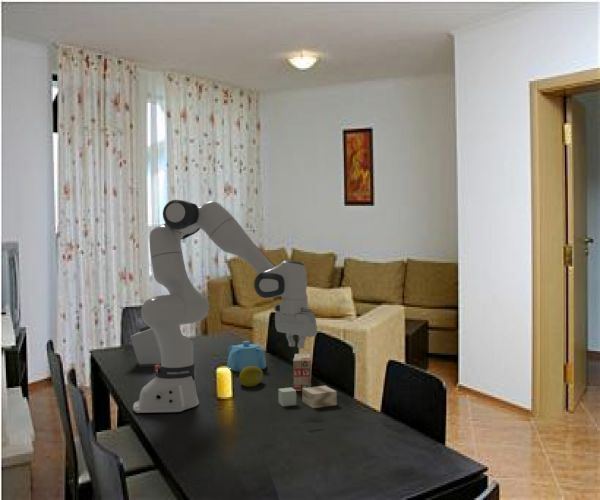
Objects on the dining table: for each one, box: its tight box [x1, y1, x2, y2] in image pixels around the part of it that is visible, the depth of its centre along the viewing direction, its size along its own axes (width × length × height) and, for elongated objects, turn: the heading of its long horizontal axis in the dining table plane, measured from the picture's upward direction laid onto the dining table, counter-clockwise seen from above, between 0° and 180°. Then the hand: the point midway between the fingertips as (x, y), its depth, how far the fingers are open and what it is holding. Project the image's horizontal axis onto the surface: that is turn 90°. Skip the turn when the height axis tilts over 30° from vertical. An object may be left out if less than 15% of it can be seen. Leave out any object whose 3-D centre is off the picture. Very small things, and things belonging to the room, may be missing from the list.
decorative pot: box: [226, 340, 267, 373], centre depth 263 cm, size 16×16×14 cm
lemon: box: [238, 366, 264, 388], centre depth 239 cm, size 11×8×8 cm
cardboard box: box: [292, 353, 312, 391], centre depth 239 cm, size 21×6×12 cm, turn 178°
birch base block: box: [301, 385, 338, 409], centre depth 213 cm, size 9×9×5 cm
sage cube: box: [277, 387, 297, 407], centre depth 213 cm, size 5×5×5 cm
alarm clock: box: [129, 325, 161, 368], centre depth 277 cm, size 20×16×20 cm
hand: (296, 347), depth 211 cm, fingers open, 4 cm apart
